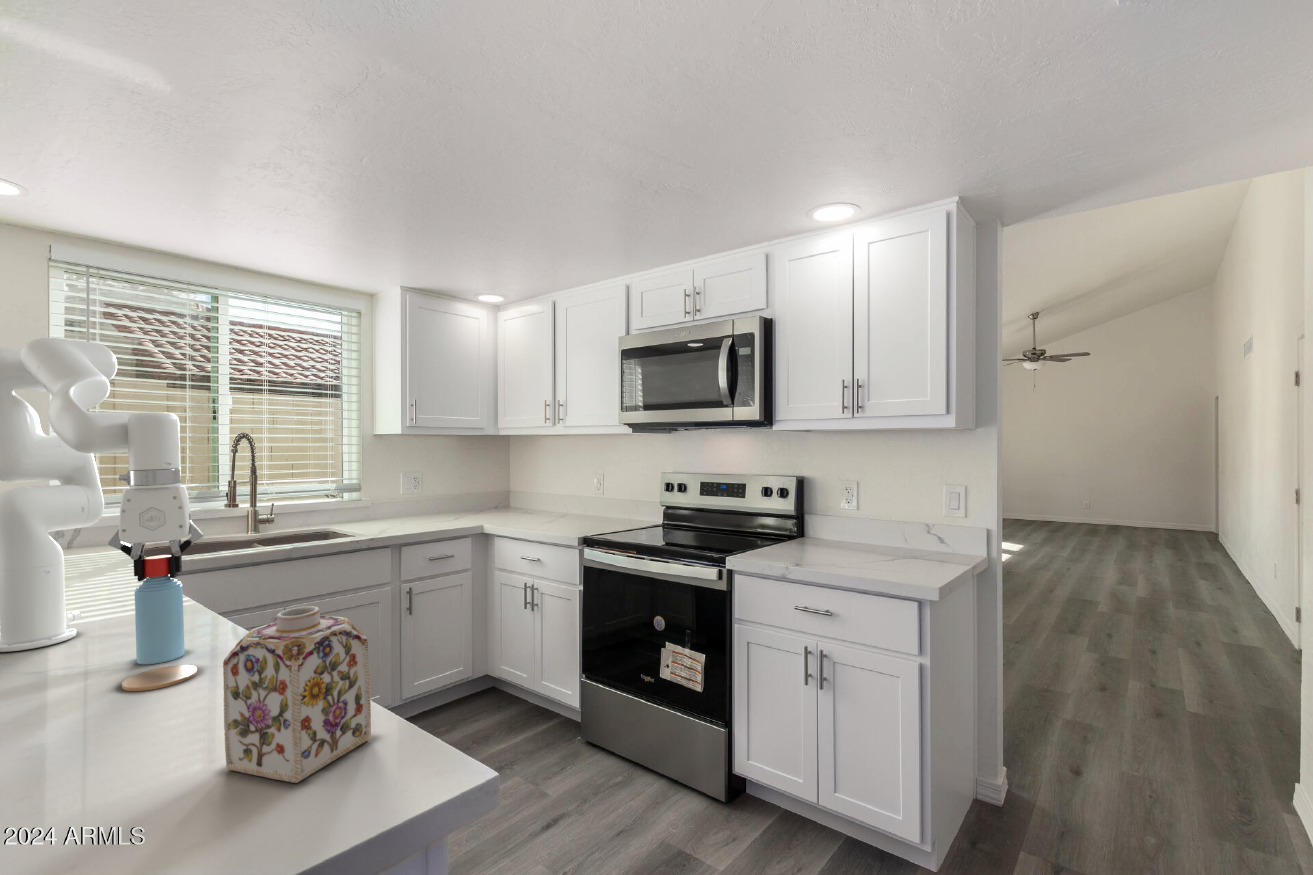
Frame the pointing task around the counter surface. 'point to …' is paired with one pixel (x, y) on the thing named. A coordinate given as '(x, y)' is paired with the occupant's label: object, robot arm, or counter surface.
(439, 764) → the counter surface
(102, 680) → the counter surface
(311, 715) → the decorative jar
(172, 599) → the bottle
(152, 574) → the cap
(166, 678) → the coaster
